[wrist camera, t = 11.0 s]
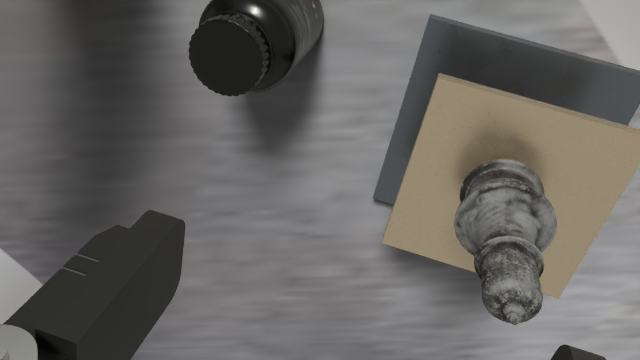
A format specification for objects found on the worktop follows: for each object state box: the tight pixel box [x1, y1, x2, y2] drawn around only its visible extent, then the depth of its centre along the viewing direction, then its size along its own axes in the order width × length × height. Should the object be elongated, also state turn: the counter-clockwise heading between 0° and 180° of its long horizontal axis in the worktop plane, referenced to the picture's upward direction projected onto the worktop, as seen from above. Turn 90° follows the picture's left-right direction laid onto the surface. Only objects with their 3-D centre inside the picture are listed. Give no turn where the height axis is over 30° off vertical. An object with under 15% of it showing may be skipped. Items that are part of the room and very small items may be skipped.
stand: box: [373, 14, 640, 299], centre depth 39 cm, size 16×16×9 cm
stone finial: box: [454, 160, 557, 325], centre depth 30 cm, size 6×6×12 cm
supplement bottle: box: [189, 0, 323, 96], centre depth 37 cm, size 7×7×12 cm
